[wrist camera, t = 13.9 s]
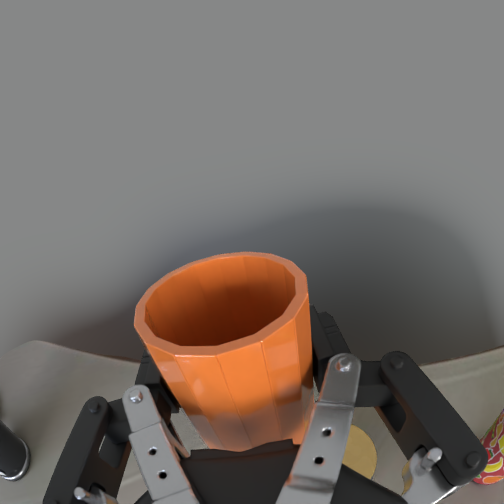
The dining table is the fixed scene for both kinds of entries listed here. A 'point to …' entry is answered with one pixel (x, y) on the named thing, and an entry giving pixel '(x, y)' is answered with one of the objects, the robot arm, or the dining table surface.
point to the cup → (234, 347)
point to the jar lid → (360, 452)
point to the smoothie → (493, 453)
